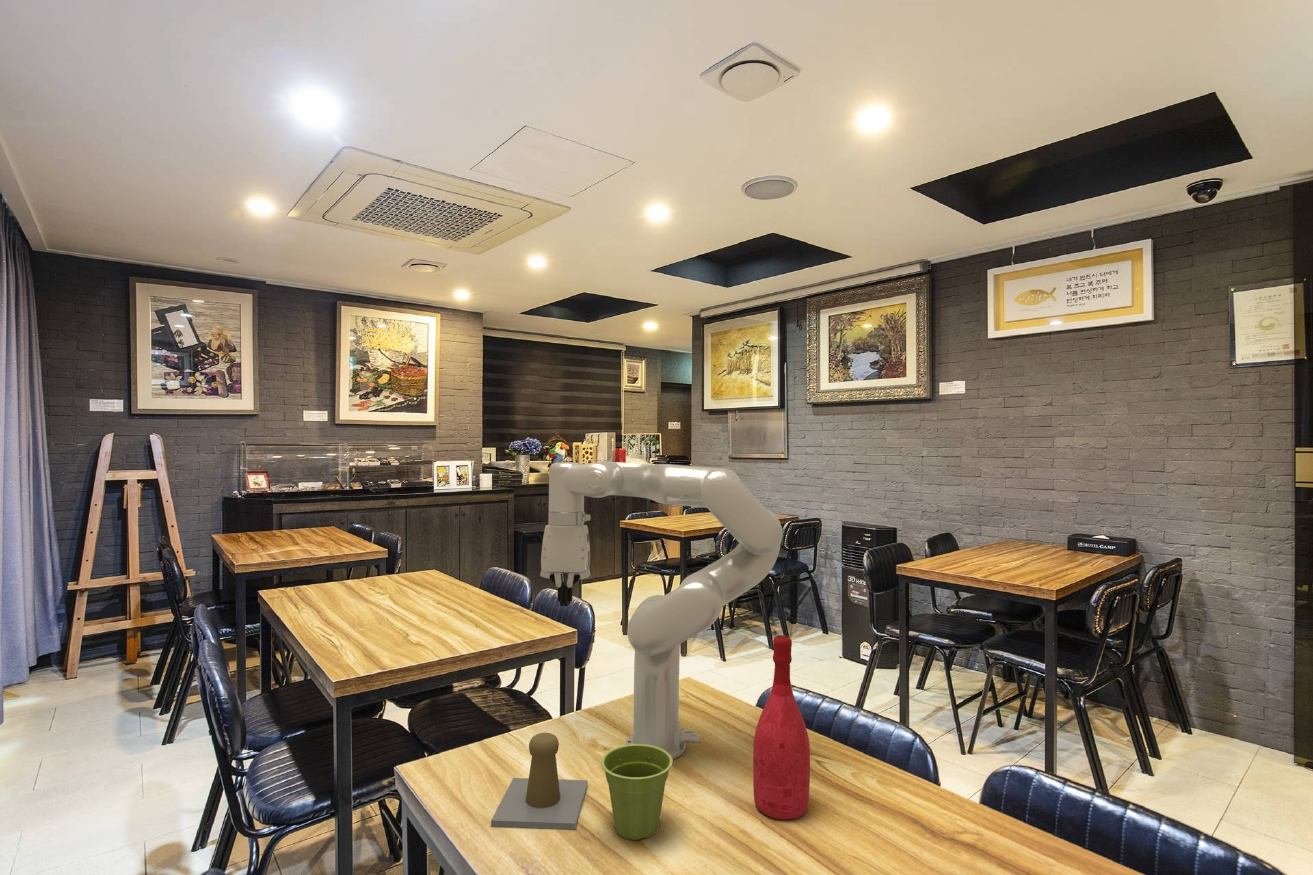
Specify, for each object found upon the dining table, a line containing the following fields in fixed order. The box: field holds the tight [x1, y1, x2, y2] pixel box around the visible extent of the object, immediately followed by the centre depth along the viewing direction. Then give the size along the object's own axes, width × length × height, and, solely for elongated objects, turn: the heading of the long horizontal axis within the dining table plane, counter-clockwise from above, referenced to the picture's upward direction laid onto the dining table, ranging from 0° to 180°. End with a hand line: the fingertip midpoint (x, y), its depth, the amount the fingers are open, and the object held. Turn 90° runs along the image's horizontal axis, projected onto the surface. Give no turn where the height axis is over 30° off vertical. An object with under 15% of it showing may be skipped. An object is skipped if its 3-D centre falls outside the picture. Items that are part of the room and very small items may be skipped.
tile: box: [490, 777, 589, 831], centre depth 114 cm, size 14×14×1 cm
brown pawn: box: [526, 732, 560, 808], centre depth 114 cm, size 6×6×11 cm
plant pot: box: [600, 744, 674, 841], centre depth 107 cm, size 12×12×11 cm
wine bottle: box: [752, 634, 811, 820], centre depth 114 cm, size 10×10×30 cm
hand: (564, 604), depth 139 cm, fingers closed
